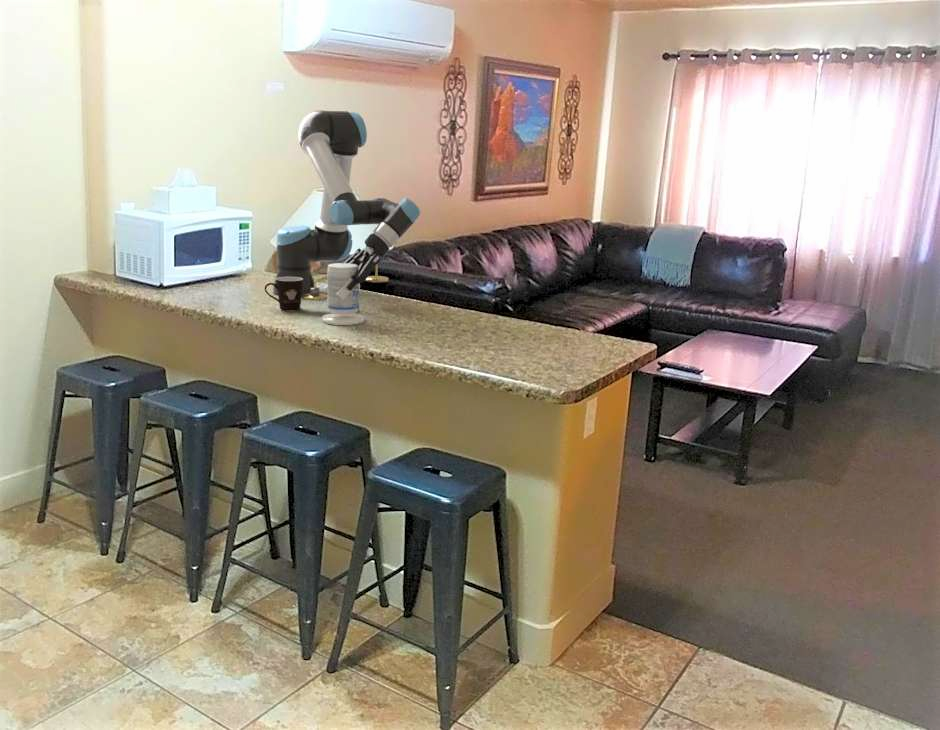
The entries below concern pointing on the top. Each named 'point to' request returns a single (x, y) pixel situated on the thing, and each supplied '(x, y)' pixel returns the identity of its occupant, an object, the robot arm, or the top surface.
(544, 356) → the top surface
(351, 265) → the supplement tub
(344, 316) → the plate
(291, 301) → the coffee mug
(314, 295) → the balance
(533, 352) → the top surface
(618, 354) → the top surface
